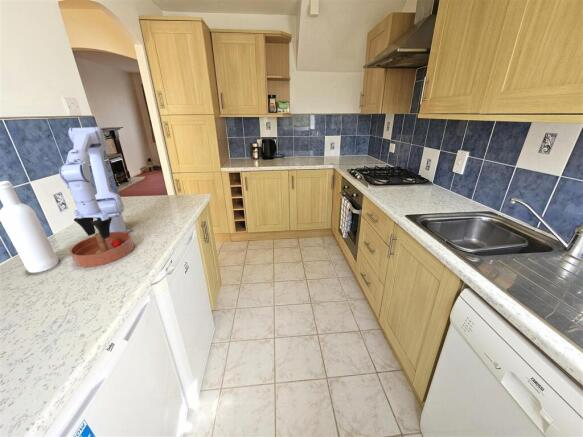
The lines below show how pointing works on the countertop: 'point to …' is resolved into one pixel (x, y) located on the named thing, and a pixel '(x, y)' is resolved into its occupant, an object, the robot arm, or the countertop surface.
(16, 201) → the bottle
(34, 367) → the countertop surface
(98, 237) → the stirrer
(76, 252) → the bowl
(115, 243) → the tomato
